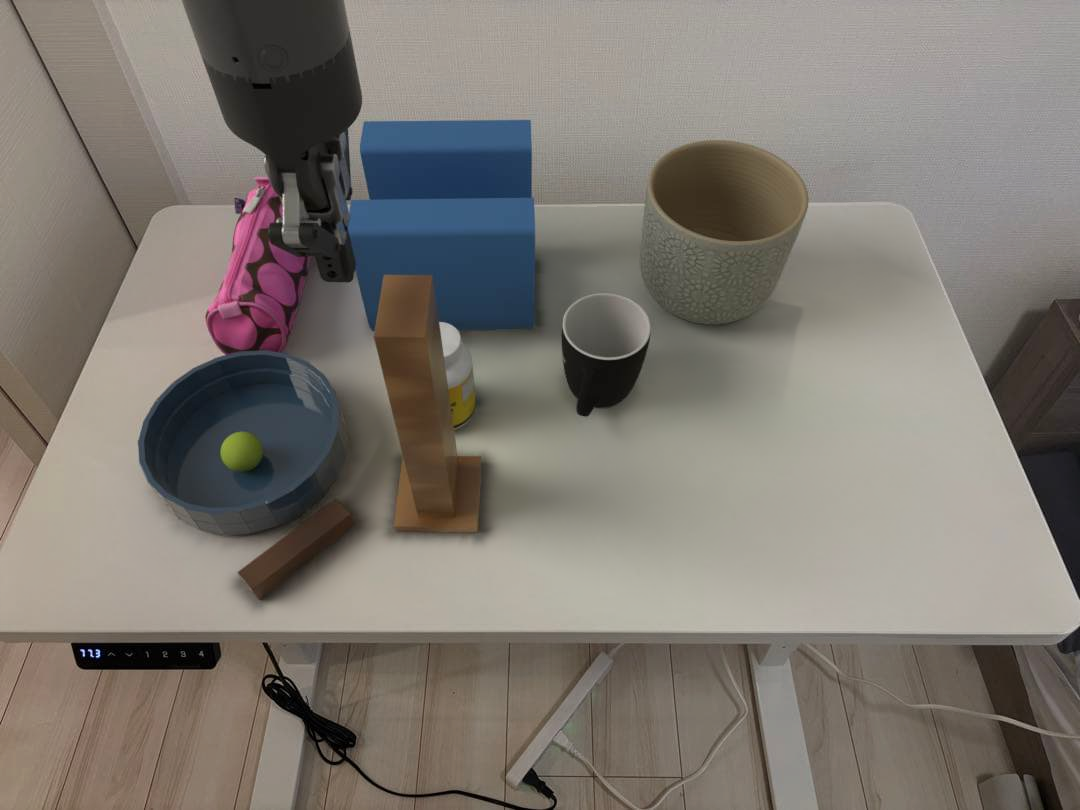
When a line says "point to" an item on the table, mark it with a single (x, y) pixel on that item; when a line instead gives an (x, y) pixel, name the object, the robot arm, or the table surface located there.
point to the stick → (296, 548)
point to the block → (450, 218)
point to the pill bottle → (458, 375)
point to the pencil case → (257, 281)
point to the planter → (718, 229)
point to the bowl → (260, 409)
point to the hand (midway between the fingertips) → (339, 274)
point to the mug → (603, 349)
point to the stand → (423, 412)
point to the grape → (241, 451)
